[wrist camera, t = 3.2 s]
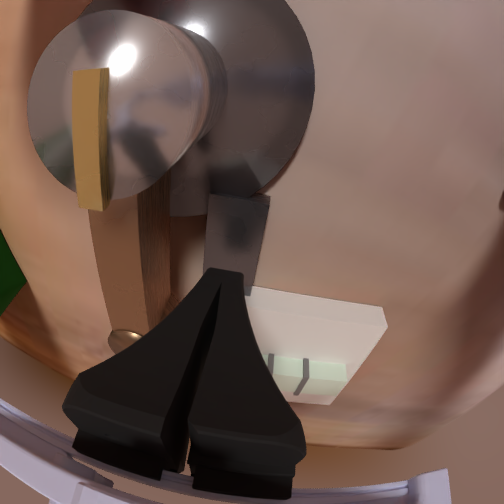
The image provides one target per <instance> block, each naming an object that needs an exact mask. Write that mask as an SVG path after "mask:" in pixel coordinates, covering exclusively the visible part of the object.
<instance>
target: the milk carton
mask: <svg viewBox="0 0 504 504" xmlns="http://www.w3.org/2000/svg"><path fill="white" fill-rule="evenodd" d="M26 282H27V281H26V279H25V277H24V275H23V274H22V272H21V270H20V268H19V266H18V265H17V263H16V261H15V259H14V257H13V255H12V253H11V251H10V249H9V247H8V245H7V243H6V241H5V239H4V237H3V235H2V233H1V231H0V316H1V315H2V313H3V312H4V311H5V309H6V308H7V307H8V305H9V304H10V302H11V301H12V300H13V298H14V297H15V296H16V294H17V293H18V292H19V291H20V289H21V288H22V287H23V286H24V284H25V283H26Z"/></svg>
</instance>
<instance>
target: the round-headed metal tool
mask: <svg viewBox="0 0 504 504" xmlns="http://www.w3.org/2000/svg"><path fill="white" fill-rule="evenodd" d="M227 90H228V80H227V73H226V68H225V65H224V63H223V60H222V58H221V56H220V54H219V53H218V51H217V50H216V49H215V47H214V46H213V45H212V44H211V43H210V42H209V41H208V40H207V39H206V38H204V37H203V36H202V35H200V34H198V33H196V32H194V31H192V30H189V29H186V28H184V27H181V26H178V25H175V24H172V23H169V22H166V21H162V20H159V19H156V18H152V17H149V16H145V15H142V14H138V13H134V12H130V11H126V10H104V11H99V12H95V13H91V14H89V15H86V16H84V17H81V18H79V19H78V20H76V21H74V22H72V23H71V24H69V25H68V26H67V27H65V28H64V29H63V30H62V31H60V32H59V33H58V34H57V35H56V36H55V37H54V38H53V40H52V41H51V42H50V43H49V45H48V46H47V47H46V49H45V50H44V52H43V53H42V55H41V57H40V58H39V60H38V63H37V65H36V67H35V69H34V72H33V75H32V78H31V82H30V86H29V91H28V99H27V116H28V125H29V130H30V134H31V138H32V141H33V144H34V146H35V149H36V151H37V153H38V155H39V157H40V158H41V160H42V162H43V163H44V165H45V166H46V168H47V169H48V170H49V171H50V172H51V174H52V175H53V176H54V177H55V178H56V179H57V180H58V181H60V182H61V183H62V184H63V185H65V186H66V187H68V188H69V189H71V190H72V191H74V192H76V193H77V197H78V205H79V208H85V209H88V213H89V221H90V228H91V234H92V240H93V246H94V252H95V257H96V262H97V268H98V272H99V277H100V282H101V286H102V291H103V295H104V299H105V303H106V307H107V311H108V315H109V319H110V322H111V326H112V332H111V334H110V335H109V337H108V344H109V346H110V348H111V349H112V351H113V352H114V353H115V354H117V353H119V352H121V351H122V350H124V349H125V348H127V347H129V346H130V345H132V344H133V343H134V342H136V341H137V340H139V339H140V338H141V337H143V336H144V335H145V334H147V333H148V332H149V331H150V330H152V329H153V328H154V327H155V326H156V325H158V324H159V323H160V322H161V321H162V320H163V319H164V318H165V317H166V316H167V315H168V314H169V313H170V312H171V311H172V310H173V309H174V308H175V307H176V306H177V305H178V302H177V300H176V298H175V297H174V296H173V295H172V294H171V291H170V189H171V167H172V166H173V165H174V164H175V163H176V162H177V161H178V160H179V159H180V158H181V157H182V156H183V155H184V154H185V153H186V152H187V151H188V150H189V149H190V148H191V147H193V146H194V145H195V144H196V143H197V142H198V141H199V140H200V139H201V138H202V137H203V136H205V135H206V134H207V133H208V132H209V131H210V130H211V128H212V127H213V126H214V125H215V123H216V122H217V120H218V119H219V117H220V115H221V113H222V111H223V108H224V105H225V102H226V97H227Z"/></svg>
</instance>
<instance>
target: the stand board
mask: <svg viewBox="0 0 504 504" xmlns="http://www.w3.org/2000/svg"><path fill="white" fill-rule="evenodd" d="M245 301H246V306H247V311H248V315H249V319H250V323H251V326H252V329H253V333H254V336H255V339H256V341H257V344H258V347H259V349H260V352H261V354H262V356H263V359H264V361H265V363H266V365H267V367H268V369H269V371H270V373H271V375H272V377H273V379H274V381H275V383H276V384H277V386H278V388H279V390H280V391H281V393H282V394H283V396H284V398H285V399H286V401H289V402H299V403H310V404H323V405H330V404H331V403H332V401H333V400H334V399H335V398H336V397H337V395H338V394H339V393H340V392H341V390H342V389H343V388H344V387H345V385H346V384H347V383H348V382H349V380H350V379H351V378H352V376H353V375H354V374H355V373H356V371H357V370H358V369H359V367H360V366H361V365H362V363H363V362H364V361H365V359H366V358H367V356H368V355H369V354H370V352H371V351H372V349H373V348H374V347H375V345H376V344H377V342H378V341H379V339H380V338H381V336H382V335H383V333H384V332H385V331H386V329H387V327H388V326H387V323H386V319H385V316H384V312H383V309H382V307H378V306H371V305H365V304H358V303H351V302H345V301H339V300H332V299H326V298H320V297H314V296H308V295H302V294H296V293H290V292H284V291H278V290H273V289H267V288H262V287H256V286H252V290H251V295H250V296H245Z"/></svg>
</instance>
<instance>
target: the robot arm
mask: <svg viewBox="0 0 504 504" xmlns="http://www.w3.org/2000/svg"><path fill="white" fill-rule="evenodd" d="M62 409H63V411H64V413H65V414H66V416H67V417H68V418H69V419H70V420H71V421H72V422H73V423H74V424H75V425H76V427H77V428H78V432H77V434H76V437H75V439H74V438H72V437H70V436H68V435H66V434H63V433H61V432H59V431H57V430H55V429H53V428H51V427H49V426H47V425H45V424H43V423H42V422H40V421H38V420H36V419H34V418H32V417H31V416H29V415H27V414H25V413H23V412H22V411H20V410H19V409H17V408H15V407H13V406H12V405H10V404H9V403H7V402H5V401H4V400H3V399H1V398H0V465H1V466H3V467H4V468H5V469H6V470H8V471H9V472H10V473H12V474H13V475H14V476H16V477H17V478H18V479H20V480H21V481H23V482H24V483H26V484H27V485H29V486H30V487H32V488H33V489H35V490H36V491H38V492H39V493H41V494H43V495H44V496H46V497H47V498H49V499H50V500H49V504H162V503H158V502H155V501H151V500H148V499H144V498H141V497H138V496H134V495H131V494H128V493H125V492H122V491H119V490H117V489H114V488H112V487H113V484H114V483H113V482H112V481H111V480H109V479H107V478H105V477H103V476H102V475H100V474H98V473H97V472H96V471H95V470H93V469H91V468H89V467H87V466H85V465H83V464H81V463H79V462H77V461H75V460H74V459H73V458H72V457H74V458H76V459H79V460H80V461H83V462H85V463H87V464H90V465H92V466H95V467H97V468H99V469H102V470H105V471H107V472H110V473H112V474H115V475H118V476H121V477H124V478H127V479H130V480H133V481H136V482H139V483H142V484H146V485H149V486H153V487H156V488H160V489H164V490H168V491H171V492H176V493H180V494H184V495H189V496H195V497H200V498H205V499H210V500H216V501H223V502H230V503H238V504H239V503H240V504H451V494H450V486H449V478H448V470H447V468H443V469H439V470H435V471H430V472H425V473H422V474H419V475H416V476H414V477H412V478H410V479H409V480H405V481H399V482H392V483H386V484H379V485H369V486H360V487H346V488H321V489H297V488H292V478H293V477H294V476H295V465H296V464H297V463H298V462H300V461H301V460H302V459H303V458H304V457H305V456H306V441H305V436H304V431H303V428H302V424H301V421H300V419H299V418H298V417H297V415H296V414H295V412H294V411H293V410H292V408H291V407H290V405H289V404H288V402H287V401H286V399H285V398H284V396H283V394H282V393H281V391H280V390H279V388H278V386H277V384H276V383H275V381H274V379H273V377H272V375H271V373H270V371H269V369H268V367H267V365H266V363H265V361H264V359H263V356H262V354H261V352H260V349H259V347H258V344H257V341H256V339H255V336H254V333H253V329H252V326H251V323H250V319H249V315H248V311H247V306H246V301H245V294H244V275H243V274H242V273H241V272H235V271H229V270H223V269H218V268H212V267H210V268H208V269H207V270H206V272H205V273H204V275H203V276H202V277H201V279H200V280H199V281H198V283H197V284H196V285H195V286H194V288H193V289H192V290H191V291H190V292H189V293H188V295H187V296H186V297H185V298H184V299H183V300H182V301H181V302H180V303H179V304H178V305H177V306H176V307H175V308H174V309H173V310H172V311H171V312H170V313H169V314H168V315H167V316H166V317H165V318H164V319H163V320H162V321H161V322H160V323H159V324H158V325H156V326H155V327H154V328H153V329H152V330H150V331H149V332H148V333H147V334H145V335H144V336H143V337H141V338H140V339H139V340H137V341H136V342H134V343H133V344H132V345H130V346H129V347H127V348H125V349H124V350H122V351H121V352H119V353H117V354H116V355H114V356H112V357H111V358H109V359H107V360H105V361H104V362H102V363H100V364H98V365H96V366H94V367H92V368H90V369H87V370H85V371H83V372H81V373H79V375H78V376H77V378H76V380H75V381H74V382H73V384H72V386H71V388H70V390H69V392H68V394H67V396H66V398H65V400H64V403H63V405H62ZM189 438H190V441H191V446H190V452H189V456H188V460H187V464H189V466H190V470H191V476H187V475H183V474H179V473H181V472H182V471H184V467H185V461H186V455H187V449H188V443H189ZM71 456H72V457H71Z"/></svg>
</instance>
